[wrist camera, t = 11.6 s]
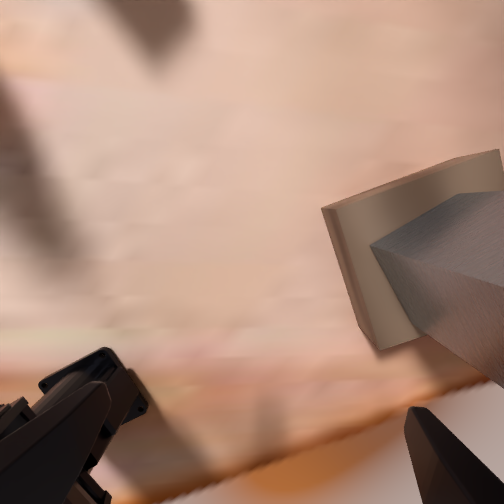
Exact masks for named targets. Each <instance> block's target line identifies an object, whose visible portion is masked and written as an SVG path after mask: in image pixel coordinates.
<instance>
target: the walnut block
mask: <svg viewBox="0 0 504 504" xmlns="http://www.w3.org/2000/svg"><path fill="white" fill-rule="evenodd" d="M503 190H504V171H503V166H502V161H501V156H500V151H499V149H495V150H491V151H486V152H481V153H477V154H472V155H467V156H463V157H458V158H453V159H451V160H448V161H445V162H443V163H440V164H437V165H435V166H432V167H429V168H427V169H424V170H421V171H419V172H416V173H413V174H411V175H408V176H405V177H403V178H400V179H397V180H394V181H392V182H389V183H386V184H384V185H381V186H378V187H376V188H373V189H370V190H368V191H365V192H362V193H360V194H357V195H354V196H352V197H349V198H346V199H344V200H341V201H338V202H335V203H333V204H330V205H327V206H325V207H322V208H321V210H322V213H323V216H324V220H325V223H326V226H327V229H328V232H329V235H330V238H331V241H332V244H333V248H334V251H335V254H336V257H337V260H338V263H339V266H340V269H341V273H342V276H343V279H344V282H345V285H346V288H347V291H348V294H349V297H350V301H351V304H352V307H353V310H354V313H355V316H356V319H357V322H358V325H359V327H360V328H361V330H362V331H363V332H364V333H365V334H366V335H367V336H368V338H369V339H370V340H371V341H372V342H373V343H374V344H375V346H376V347H377V348H378V349H379V350H380V351H381V350H384V349H387V348H390V347H393V346H396V345H399V344H402V343H404V342H407V341H410V340H413V339H416V338H419V337H422V336H425V335H428V334H426V333H425V332H423V331H422V330H421V329H419V328H418V327H416V326H415V325H414V324H412V323H411V321H410V319H409V317H408V315H407V314H406V312H405V310H404V308H403V306H402V304H401V303H400V301H399V299H398V297H397V295H396V293H395V292H394V290H393V288H392V286H391V284H390V282H389V281H388V279H387V277H386V275H385V273H384V271H383V269H382V268H381V266H380V264H379V262H378V260H377V258H376V257H375V255H374V253H373V251H372V249H371V247H370V246H369V245H371V244H372V243H374V242H376V241H378V240H379V239H381V238H383V237H384V236H386V235H388V234H390V233H391V232H393V231H395V230H396V229H398V228H400V227H401V226H403V225H405V224H407V223H408V222H410V221H412V220H413V219H415V218H417V217H419V216H420V215H422V214H424V213H425V212H427V211H429V210H431V209H432V208H434V207H436V206H437V205H439V204H441V203H443V202H444V201H446V200H448V199H449V198H451V197H453V196H454V195H456V194H459V193H474V192H489V191H503Z"/></svg>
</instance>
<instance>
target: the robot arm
mask: <svg viewBox="0 0 504 504" xmlns="http://www.w3.org/2000/svg"><path fill="white" fill-rule="evenodd" d="M102 353H104V354H105V355H106V356H105V355H103V354H102ZM38 386H39V388H40V390H41V391H42V392H43V393H44V396H43V397H42V398H41V399H40V400H38V401H37V402H36V403H35V404H34V405H33V406H32V407H31V408H30V407H29V406H28V405H27V404H28V402H27V400H26V399H25V398H24V397H23V396H22V397H21V398H19V399H17V400H16V401H14V402H12V403H11V404H9V403H8V404H6V405H4V404H2V405H0V504H110V503H111V499H112V496H111V495H110V494H109V493H108V492H107V491H104V490H103V489H102V488H101V487H100V486H99V485H98V484H97V482H96V481H95V480H94V479H93V478H92V477H91V476H90V475H89V474H90V473H91V471H92V469H93V467H94V466H96V465H97V464H98V462H99V460H100V459H101V457H102V455H103V453H104V452H105V450H106V448H107V446H108V445H109V443H110V441H111V440H112V438H113V436H114V435H115V434H116V433H117V431H118V429H119V427H120V426H121V425H123V424H125V423H127V422H129V421H131V420H133V419H135V418H137V417H139V416H141V415H143V414H144V413H146V411H147V409H148V403H147V401H146V400H145V399H144V397H143V396H142V394H141V393H140V392H139V390H138V388H137V387H136V386H135V384H134V383H133V381H132V380H131V379H130V377H129V376H128V374H127V373H126V371H125V370H124V369H123V367H122V366H121V365H120V363H119V362H118V360H117V359H116V357H115V356H114V355H113V353H112V352H111V350H110V349H109V348H107V347H102V348H100V349H98V350H96V351H94V352H92V353H90V354H88V355H86V356H85V357H83V358H81V359H79V360H77V361H75V362H73V363H71V364H69V365H68V366H66V367H64V368H62V369H60V370H58V371H56V372H54V373H52V374H51V375H49V376H47V377H45V378H44V379H42V380H41V381H40V382H39V384H38ZM140 406H141V407H143V408H141V407H140ZM404 433H405V438H406V442H407V446H408V450H409V454H410V457H411V461H412V465H413V469H414V473H415V476H416V480H417V484H418V487H419V491H420V495H421V498H422V502H423V504H504V483H503V482H502V481H501V480H500V479H499V478H498V477H497V476H496V475H495V474H494V473H493V472H492V471H490V469H489V468H488V467H487V466H486V465H485V464H483V463H482V462H481V461H480V460H479V459H478V458H477V457H476V456H475V455H474V454H473V453H472V452H471V451H470V450H469V449H468V448H467V447H466V446H465V445H464V444H463V443H462V442H461V441H460V440H459V439H458V438H457V437H456V436H455V435H454V434H453V433H452V432H451V431H450V430H449V429H448V428H447V427H446V426H445V425H444V424H443V423H442V422H441V421H440V420H439V419H438V418H436V416H435V415H434V414H432V412H430V411H429V410H428V409H427V408H424V407H414V406H411V407H409V409H408V412H407V416H406V421H405V426H404Z"/></svg>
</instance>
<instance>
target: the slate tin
mask: <svg viewBox="0 0 504 504" xmlns="http://www.w3.org/2000/svg"><path fill="white" fill-rule="evenodd" d="M369 246H370V247H371V249H372V251H373V253H374V255H375V257H376V258H377V260H378V262H379V264H380V266H381V268H382V269H383V271H384V273H385V275H386V277H387V279H388V281H389V282H390V284H391V286H392V288H393V290H394V292H395V293H396V295H397V297H398V299H399V301H400V303H401V304H402V306H403V308H404V310H405V312H406V314H407V315H408V317H409V319H410V321H411V323H412V324H414V325H415V326H416V327H418V328H419V329H421V330H422V331H423V332H425V333H426V334H428V335H429V336H430V337H432V338H433V339H435V340H436V341H437V342H439V343H440V344H442V345H443V346H445V347H446V348H447V349H449V350H450V351H452V352H453V353H454V354H456V355H457V356H459V357H460V358H461V359H463V360H464V361H466V362H467V363H468V364H470V365H471V366H473V367H474V368H476V369H477V370H478V371H480V372H481V373H483V374H484V375H485V376H487V377H488V378H490V379H491V380H492V381H494V382H495V383H497V384H498V385H500V386H501V387H502V388H504V190H503V191H489V192H474V193H459V194H456V195H454V196H453V197H451V198H449V199H448V200H446V201H444V202H443V203H441V204H439V205H437V206H436V207H434V208H432V209H431V210H429V211H427V212H425V213H424V214H422V215H420V216H419V217H417V218H415V219H413V220H412V221H410V222H408V223H407V224H405V225H403V226H401V227H400V228H398V229H396V230H395V231H393V232H391V233H390V234H388V235H386V236H384V237H383V238H381V239H379V240H378V241H376V242H374V243H372V244H371V245H369Z"/></svg>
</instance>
